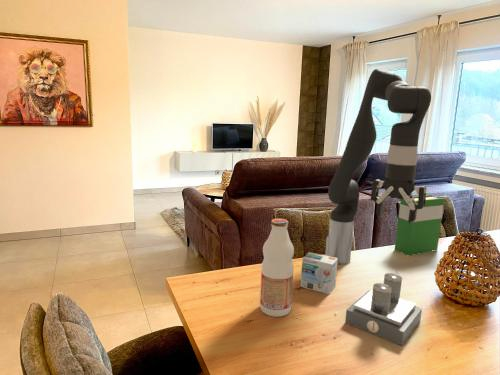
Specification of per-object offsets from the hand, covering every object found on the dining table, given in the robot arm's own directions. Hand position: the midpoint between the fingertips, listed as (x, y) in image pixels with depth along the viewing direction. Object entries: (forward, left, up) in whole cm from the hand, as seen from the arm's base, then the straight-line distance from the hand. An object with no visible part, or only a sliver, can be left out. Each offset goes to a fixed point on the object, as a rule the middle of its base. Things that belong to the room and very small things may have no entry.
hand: (394, 219), depth 105 cm
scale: (+1, -3, -30) cm, 30 cm away
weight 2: (+1, +1, -25) cm, 25 cm away
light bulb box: (-24, +3, -30) cm, 39 cm away
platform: (+1, -3, -26) cm, 26 cm away
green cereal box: (-10, +65, -30) cm, 72 cm away
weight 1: (+1, -7, -25) cm, 26 cm away
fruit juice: (-26, -19, -30) cm, 44 cm away
